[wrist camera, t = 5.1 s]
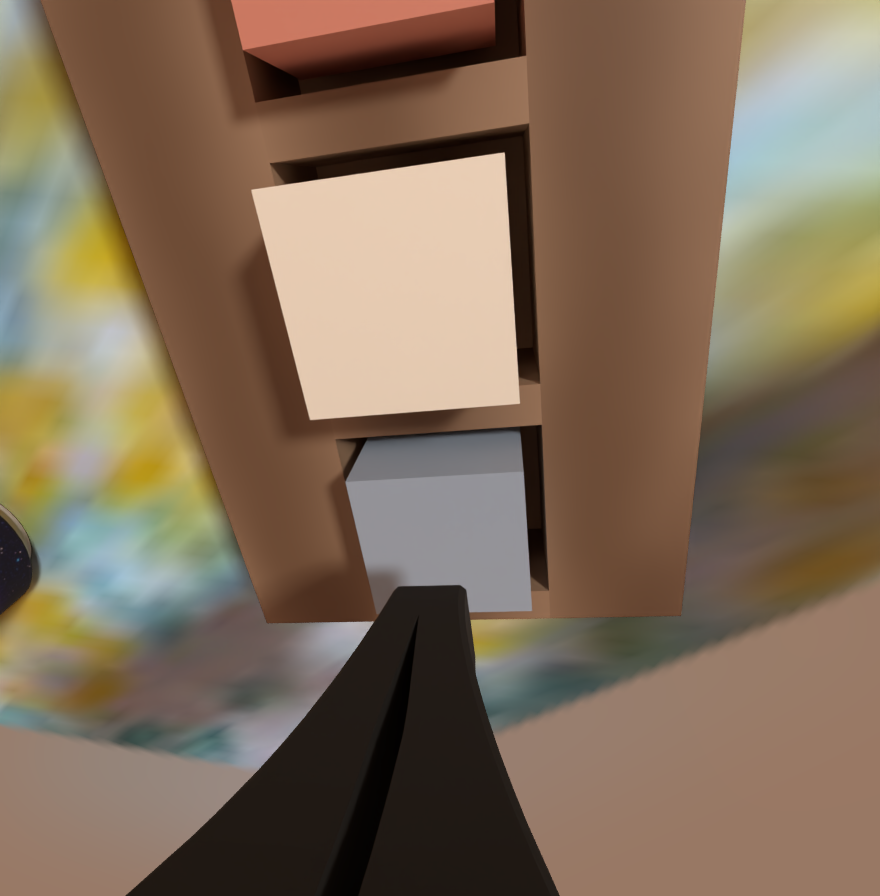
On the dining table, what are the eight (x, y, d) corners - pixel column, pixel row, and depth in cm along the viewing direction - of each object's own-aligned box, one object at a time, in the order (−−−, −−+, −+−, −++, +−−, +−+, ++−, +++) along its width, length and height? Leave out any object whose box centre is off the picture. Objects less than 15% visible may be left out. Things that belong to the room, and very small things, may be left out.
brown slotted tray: (705, -364, 9) (814, -651, 6) (648, 537, 17) (681, 615, 14) (84, -193, 11) (-85, -344, 8) (304, 551, 19) (266, 623, 16)
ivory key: (503, 159, 10) (504, 152, 8) (515, 357, 12) (520, 403, 9) (308, 187, 11) (250, 190, 8) (347, 372, 13) (310, 420, 10)
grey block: (519, 419, 14) (523, 471, 11) (526, 542, 16) (532, 611, 13) (371, 429, 14) (345, 481, 12) (395, 547, 16) (376, 614, 14)
